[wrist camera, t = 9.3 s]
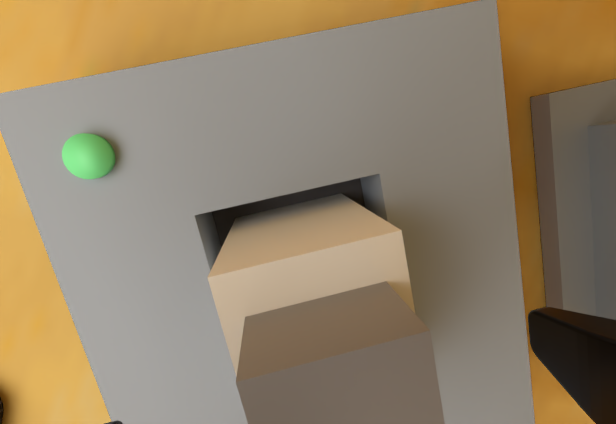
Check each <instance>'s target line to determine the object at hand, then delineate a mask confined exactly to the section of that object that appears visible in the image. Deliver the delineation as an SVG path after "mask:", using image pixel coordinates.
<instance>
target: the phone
mask: <svg viewBox="0 0 616 424" xmlns="http://www.w3.org/2000/svg"><path fill="white" fill-rule="evenodd" d="M2 417H3V403H2V401H1V398H0V424H2Z"/></svg>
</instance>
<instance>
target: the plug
mask: <svg viewBox="0 0 616 424" xmlns="http://www.w3.org/2000/svg"><path fill="white" fill-rule="evenodd" d="M207 278H208V282H209V285H210V288H211V292H212V295H213V299H214V302H215V306H216V309H217V312H218V316H219V319H220V323H221V326H222V329H223V333H224V336H225V340H226V343H227V347H228V350H229V353H230V357H231V360H232V364H233V367H234V370H235V374H236V385H237V388H238V392H239V395H240V398H241V402H242V405H243V409H244V412H245V415H246V419H247V422H248V424H445V421H444V415H443V409H442V402H441V396H440V390H439V383H438V377H437V371H436V364H435V358H434V352H433V345H432V339H431V333H430V330H429V329H428V328H427V326H426V325H425V324H424V323H423V322H422V321H421V320H420V319H419V317H418V316H417V315H416V314H415V309H414V303H413V297H412V290H411V284H410V278H409V272H408V266H407V260H406V254H405V248H404V242H403V236H402V230H400V229H399V228H397V227H395V226H394V225H392V224H390V223H389V222H387V221H385V220H384V219H382V218H381V217H379V216H377V215H376V214H374V213H372V212H371V211H369V210H367V209H366V208H364V207H363V206H361V205H359V204H358V203H356V202H354V201H353V200H351V199H349V198H348V197H346V196H345V195H343V194H336V195H332V196H328V197H324V198H319V199H315V200H311V201H306V202H302V203H298V204H294V205H289V206H285V207H281V208H276V209H272V210H268V211H263V212H259V213H255V214H251V215H246V216H242V217H238V218H236V219H235V221H234V223H233V225H232V227H231V229H230V231H229V233H228V235H227V238H226V240H225V242H224V244H223V246H222V248H221V250H220V252H219V254H218V256H217V258H216V261H215V263H214V265H213V267H212V269H211V271H210V273H209V275H208V277H207Z"/></svg>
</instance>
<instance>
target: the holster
mask: <svg viewBox="0 0 616 424" xmlns="http://www.w3.org/2000/svg"><path fill="white" fill-rule="evenodd" d="M530 101H531V114H532V126H533V139H534V152H535V165H536V178H537V191H538V204H539V217H540V230H541V243H542V256H543V269H544V282H545V295H546V307H553V308H558V309H563V310H568V311H573V312H578V313H583V314H588V315H594V316H599V317H604V318H609V319H614V320H616V79H612V80H608V81H603V82H599V83H594V84H589V85H585V86H580V87H576V88H571V89H566V90H562V91H557V92H553V93H548V94H543V95H539V96H534V97H530Z"/></svg>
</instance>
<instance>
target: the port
mask: <svg viewBox="0 0 616 424" xmlns="http://www.w3.org/2000/svg"><path fill="white" fill-rule="evenodd" d="M0 131H1V133H2V136H3V139H4V141H5V144H6V146H7V149H8V152H9V154H10V157H11V160H12V162H13V165H14V167H15V170H16V173H17V175H18V178H19V180H20V183H21V186H22V188H23V191H24V193H25V196H26V199H27V201H28V204H29V207H30V209H31V212H32V214H33V217H34V220H35V222H36V225H37V227H38V230H39V233H40V235H41V238H42V241H43V243H44V246H45V248H46V251H47V254H48V256H49V259H50V261H51V264H52V267H53V269H54V272H55V274H56V277H57V280H58V282H59V285H60V288H61V290H62V293H63V295H64V298H65V301H66V303H67V306H68V308H69V311H70V314H71V316H72V319H73V322H74V324H75V327H76V329H77V332H78V335H79V337H80V340H81V342H82V345H83V348H84V350H85V353H86V355H87V358H88V361H89V363H90V366H91V369H92V371H93V374H94V376H95V379H96V382H97V384H98V387H99V389H100V392H101V395H102V397H103V400H104V403H105V405H106V408H107V410H108V413H109V416H110V418H111V421H116V420H118V421H121V422H122V423H123V424H248V422H247V419H246V415H245V412H244V409H243V405H242V402H241V398H240V395H239V392H238V388H237V385H236V374H235V370H234V367H233V364H232V360H231V357H230V353H229V350H228V347H227V343H226V340H225V336H224V333H223V329H222V326H221V323H220V319H219V316H218V312H217V309H216V306H215V302H214V299H213V295H212V292H211V288H210V285H209V282H208V278H207V277H208V275H209V273H210V271H211V269H212V267H213V265H214V263H215V261H216V258H217V256H218V254H219V252H220V250H221V248H222V246H223V244H224V242H225V240H226V238H227V235H228V233H229V231H230V229H231V227H232V225H233V223H234V221H235V219H236V218H238V217H242V216H246V215H251V214H255V213H259V212H263V211H268V210H272V209H276V208H281V207H285V206H289V205H294V204H298V203H302V202H306V201H311V200H315V199H319V198H324V197H328V196H332V195H336V194H343V195H345V196H346V197H348V198H349V199H351V200H353V201H354V202H356V203H358V204H359V205H361V206H363V207H364V208H366V209H367V210H369V211H371V212H372V213H374V214H376V215H377V216H379V217H381V218H382V219H384V220H385V221H387V222H389V223H390V224H392V225H394V226H395V227H397V228H399V229H400V230H402V236H403V242H404V248H405V254H406V260H407V266H408V272H409V278H410V284H411V290H412V297H413V303H414V309H415V314H416V315H417V316H418V317H419V319H420V320H421V321H422V322H423V323H424V324H425V325H426V326H427V328H428V329H429V330H430V333H431V339H432V345H433V352H434V358H435V364H436V371H437V377H438V383H439V390H440V396H441V402H442V409H443V415H444V421H445V424H535V418H534V407H533V396H532V385H531V374H530V363H529V352H528V341H527V330H526V319H525V308H524V297H523V286H522V275H521V264H520V253H519V242H518V231H517V220H516V209H515V198H514V187H513V176H512V165H511V154H510V143H509V132H508V121H507V111H506V100H505V89H504V78H503V67H502V56H501V45H500V34H499V23H498V12H497V1H496V0H479V1H474V2H469V3H464V4H459V5H453V6H448V7H443V8H438V9H433V10H428V11H422V12H417V13H412V14H407V15H402V16H397V17H392V18H386V19H381V20H376V21H371V22H366V23H361V24H355V25H350V26H345V27H340V28H335V29H330V30H324V31H319V32H314V33H309V34H304V35H299V36H294V37H288V38H283V39H278V40H273V41H268V42H263V43H257V44H252V45H247V46H242V47H237V48H232V49H226V50H221V51H216V52H211V53H206V54H201V55H196V56H190V57H185V58H180V59H175V60H170V61H165V62H159V63H154V64H149V65H144V66H139V67H134V68H128V69H123V70H118V71H113V72H108V73H103V74H98V75H92V76H87V77H82V78H77V79H72V80H67V81H61V82H56V83H51V84H46V85H41V86H36V87H31V88H25V89H20V90H15V91H10V92H5V93H0Z"/></svg>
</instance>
